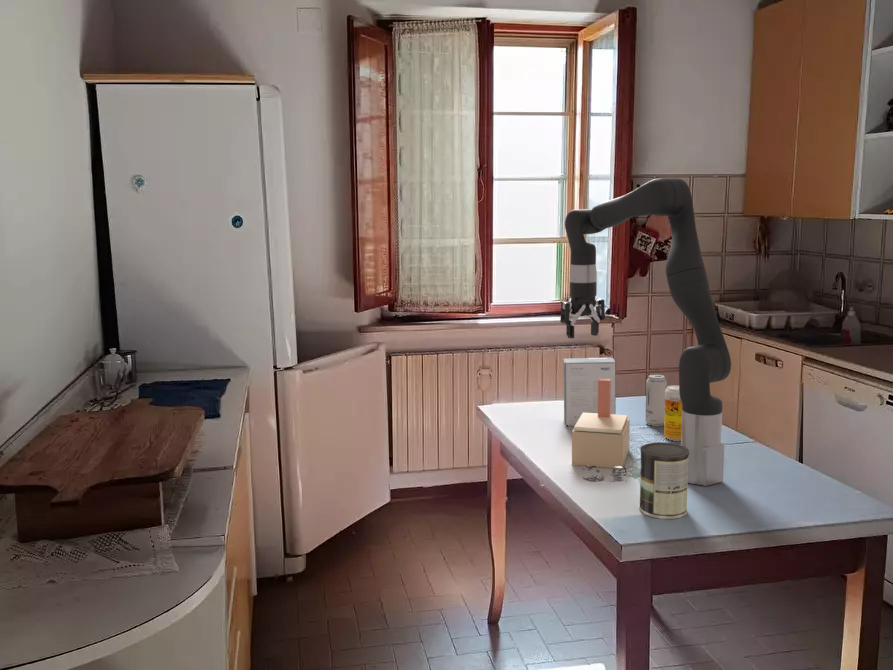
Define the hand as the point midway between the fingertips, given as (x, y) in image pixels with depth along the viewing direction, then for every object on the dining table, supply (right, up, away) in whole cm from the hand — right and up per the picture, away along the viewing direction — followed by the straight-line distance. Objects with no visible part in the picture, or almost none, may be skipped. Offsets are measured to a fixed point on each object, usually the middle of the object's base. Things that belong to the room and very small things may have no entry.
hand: (582, 336), depth 231 cm
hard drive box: (+5, -27, +17) cm, 32 cm away
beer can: (+26, -29, 0) cm, 40 cm away
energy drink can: (+25, -27, +15) cm, 40 cm away
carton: (+2, -32, -16) cm, 36 cm away
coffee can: (+9, -39, -53) cm, 66 cm away
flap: (+2, -23, -18) cm, 29 cm away
